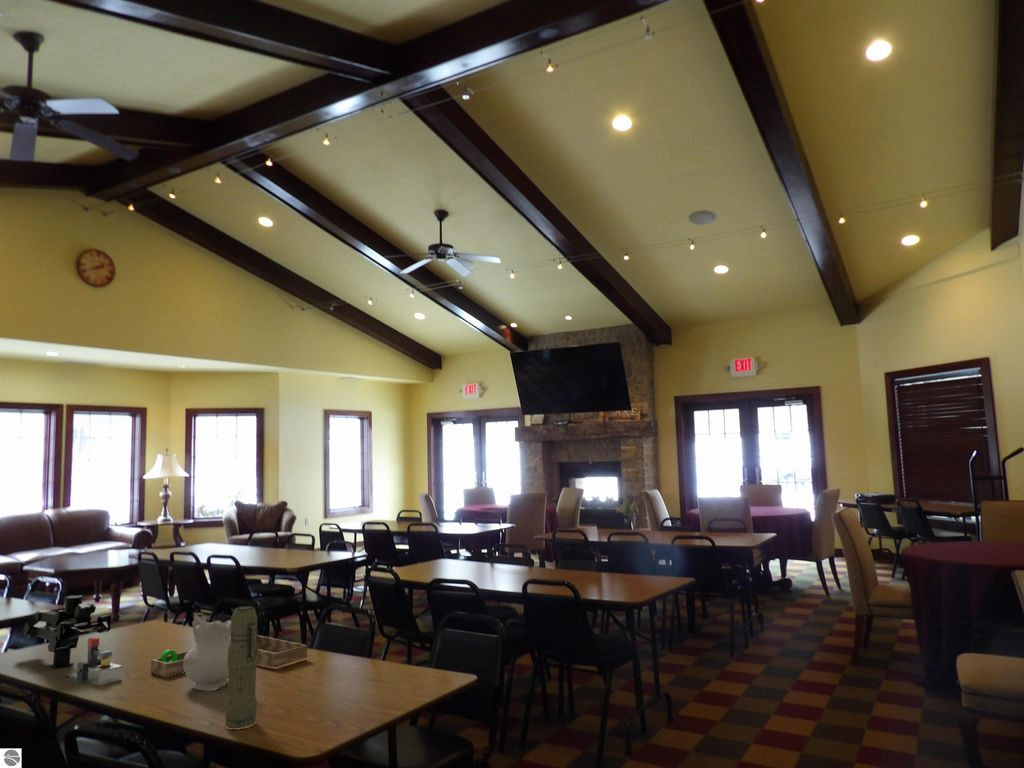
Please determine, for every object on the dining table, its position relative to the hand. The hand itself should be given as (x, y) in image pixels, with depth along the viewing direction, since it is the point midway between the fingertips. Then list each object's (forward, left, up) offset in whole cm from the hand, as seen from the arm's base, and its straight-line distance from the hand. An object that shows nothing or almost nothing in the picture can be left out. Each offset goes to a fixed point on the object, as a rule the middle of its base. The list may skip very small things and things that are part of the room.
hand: (95, 630), depth 271 cm
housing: (+10, -1, -17) cm, 19 cm away
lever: (+3, -1, -15) cm, 15 cm away
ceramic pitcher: (+48, +17, -17) cm, 53 cm away
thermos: (+92, -1, -17) cm, 93 cm away
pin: (+10, -1, -12) cm, 16 cm away
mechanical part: (+21, +22, -17) cm, 35 cm away
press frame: (+1, -1, -17) cm, 17 cm away
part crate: (+21, +22, -17) cm, 35 cm away
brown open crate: (+35, +50, -17) cm, 63 cm away
